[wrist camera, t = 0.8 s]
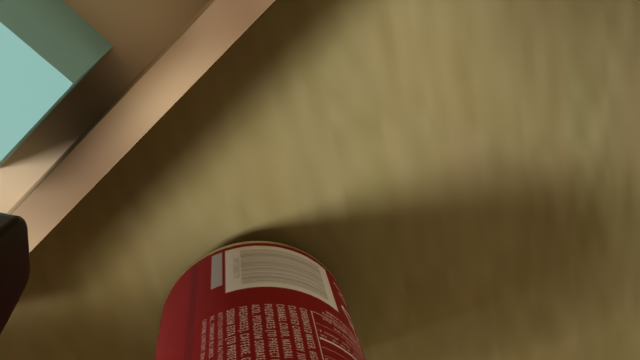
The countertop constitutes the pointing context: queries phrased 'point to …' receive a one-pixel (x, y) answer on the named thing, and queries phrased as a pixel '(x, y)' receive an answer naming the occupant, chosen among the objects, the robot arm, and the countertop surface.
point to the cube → (40, 63)
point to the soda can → (257, 308)
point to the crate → (117, 98)
